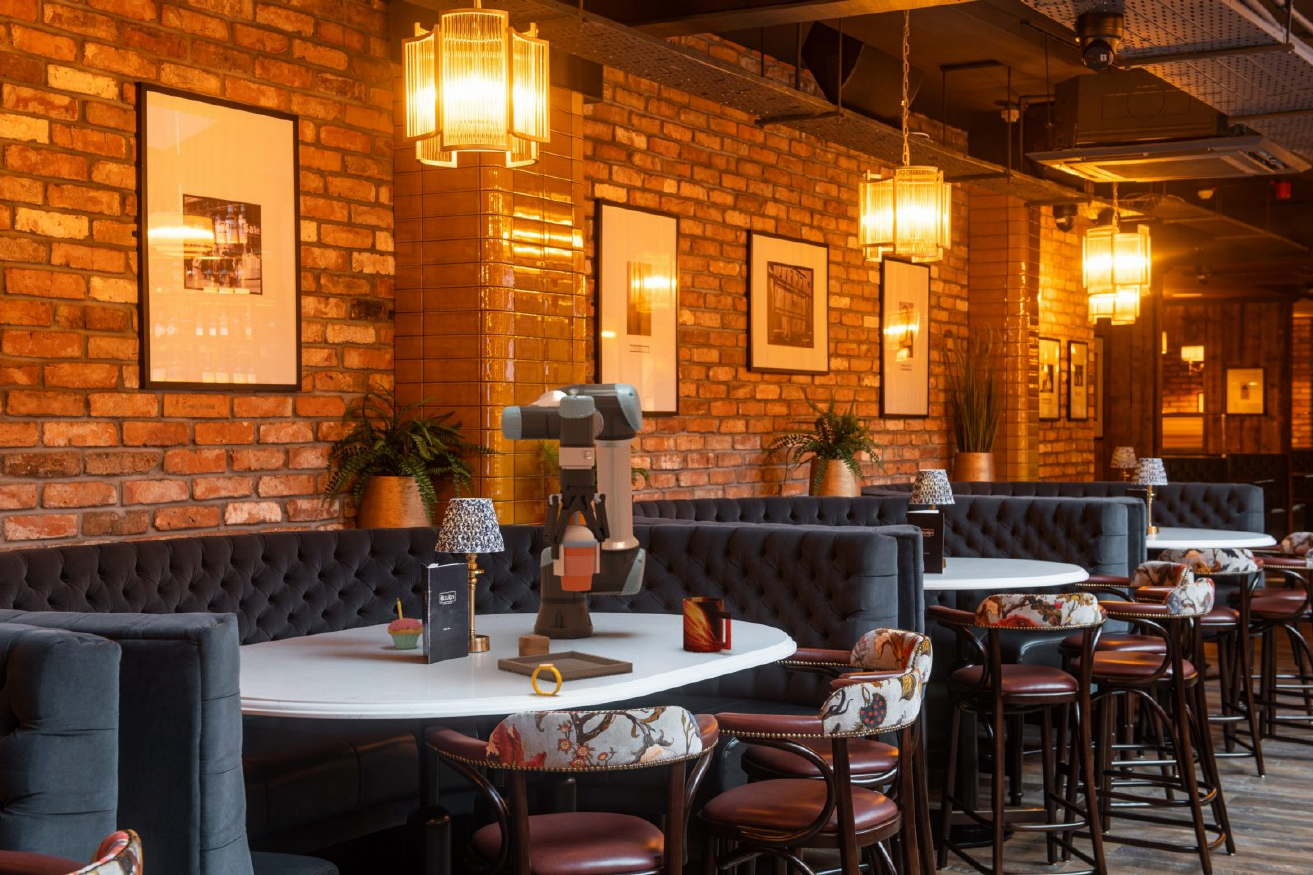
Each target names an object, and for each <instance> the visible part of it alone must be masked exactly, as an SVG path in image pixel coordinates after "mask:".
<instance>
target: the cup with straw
mask: <svg viewBox="0 0 1313 875" xmlns="http://www.w3.org/2000/svg"><path fill="white" fill-rule="evenodd" d="M573 517H574V518H573V519H574V520H573V522H574V523H573V525H569V526H567V528H566V530H565V533H564V535H563V538H562V541H561V543H560V545H563V547H564V576H561V584H562V590H565V591H587V590H590V589H591V582H592V575H593V569H594V558H595V554H594V548H595V546H597V544H598V541H597V539H594V536H593V534H592V532H591V531H590V530H589V529H588V527H587V526H583V525H580V524H579V511H577V512H574V513H573Z"/></svg>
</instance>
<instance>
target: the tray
mask: <svg viewBox="0 0 1313 875" xmlns="http://www.w3.org/2000/svg"><path fill="white" fill-rule="evenodd" d="M541 664H553V667H554V668H556V669H557V670H558V671H559V673H560V675H561V679H562V682H571V681H575V680H576V681H577V680H578V681H579V680H585V679H592V678H600V677H608V676H614V675H621V674H629V673H630V674H633V673H634V672H633V669H634V667H633V664H634V662H629V661H625V660H619V659H615V658H610V657H605V656H600V655H595V654H589V653H586V652H582V651H581V652H580V651H575V650H569V651H561V652H559V651H558V652H552V653H551V652H549V654H541V655H533V656H524V657H519V656H516V657H507V658H498V659H497V667H498V670H502V671H507V672H511V673H515V674H519V675H524V676H527V677H531V678H532V675H533V673H534V671H535V670H536V669H537V668H539V665H541ZM536 679H539V680H545V681H549V682H552V683H557V678H556V676H555V674H554V672H552V671H551V670H550V669H541V670H539V672H538V674H537V676H536Z"/></svg>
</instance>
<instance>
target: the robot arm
mask: <svg viewBox="0 0 1313 875" xmlns="http://www.w3.org/2000/svg"><path fill="white" fill-rule="evenodd" d="M500 420H501V421H500V427H501V428H500V429H501V434H502V436H503V437H504V439H505V440H507V441H508V440H510V441H511V440H512V441H541V440H542V441H545V440H546V441H559V451H558V452H559V454H558V456H559V457H558V465H559V466H560V467H561V469H560V470H558V472H559V473H558V478H559V479H558V480H559V481H558V483H559V486H560V490H559V493H558V494H548V495H547V496H546V499H547V510H546V516H545V523H544V530H543V533H542V534H543V536H542V540H543V542H546V543H548V544H550V546H549V547H546V548H544V549H543V550H542V552H541V555H540V556H541V557H540V559H541V560H540V567H539V568H540V607H539V610H538V613H537V616H536V620H535V624H534V625H533V635H540V636H545V637H549V639H559V640H560V639H562V640H563V639H579V638H580V639H581V638H587V637H591V636H593V635H594V626H593V622H592V619H591V615H590V613H589V609H588V607H587V595H616V596H617V595H618V596H619V595H620V596H623V595H625V596H626V595H636V594H638V593H639V592H640V591H641V587H642V583H643V578H644V572H645V565H646V550H645V549H643V548H641V547H640V542H639V540H638V539H637V538H636V537H635V536H634V530H633V528H634V526H633V498H632V496H633V493H632V488H633V487H632V486H633V485H632V454H631V453H632V452H631V448H632V447H631V446H632V443H633V442H634V441H635V440H636V438H637V432H639V431H641V430H642V428H643V411H642V404H641V400H640V396H639V392H638V390H637V388H636V387H635V386H634V385H632V384H628V383H627V384H626V383H618V382H617V383H586V384H583V383H576V384H569V385H565V386H564V385H563V386H561V387H558V388H554V389H552V390H551V389H550V390H548V391H546V392H545V393H543V394H541V395H540V397H539V398H538V399H537V401H534V402H532V403H529V404H527V405H514V406H511V405H510V406H506V407H504V408H503V410H502V412H501V419H500ZM595 445H596V449H595ZM595 450H596V475H597V476H596V478H597V493H596V492H595V490H594V485H595V470H594V468H592V467H594V466H595ZM592 502H593V504H592ZM561 503H562V504H561ZM560 504H561V507H560ZM593 507H594V508H593ZM577 511H578V512H580V514H581V515H582V516H583V519H584V522H585V525H586V528H588V529H589V530H590V531H591V532H592V534H593V536H594V539H597V541H598V544H597V546H595V548H594V554H595V558H594V569H593V575H592V582H591V589H590V590H587V591H565V590H562V584H561V576H564V547H563V545H560V543H561V541H562V538H563V535H564V533H565V530H566V528H567V527H568V524H569V522H570V518H571V517H572V516H574V512H577ZM594 513H595V514H594Z"/></svg>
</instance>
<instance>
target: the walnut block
mask: <svg viewBox="0 0 1313 875" xmlns="http://www.w3.org/2000/svg"><path fill="white" fill-rule="evenodd" d="M541 654H550V638H549V637H545V636H540V635H534V634H533V635H525V636H524V635H523V636H518V657H524V656H533V655H541Z"/></svg>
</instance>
